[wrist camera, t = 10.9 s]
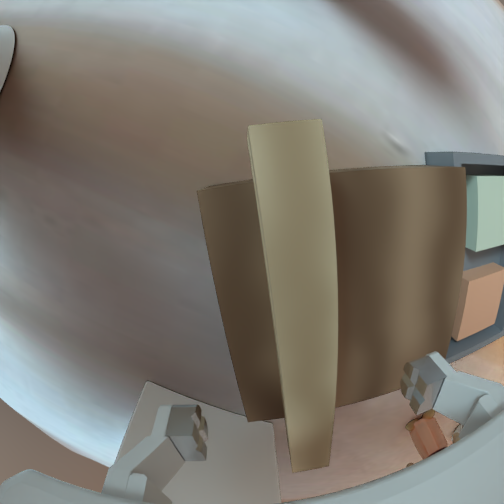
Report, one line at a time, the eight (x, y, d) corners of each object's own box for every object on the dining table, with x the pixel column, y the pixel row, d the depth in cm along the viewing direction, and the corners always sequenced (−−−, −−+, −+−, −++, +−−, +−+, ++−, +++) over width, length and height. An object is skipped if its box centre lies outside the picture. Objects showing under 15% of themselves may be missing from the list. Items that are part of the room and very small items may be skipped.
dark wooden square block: (247, 379, 22) (247, 422, 17) (209, 186, 18) (196, 191, 13) (414, 342, 22) (440, 373, 17) (423, 165, 17) (465, 167, 13)
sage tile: (511, 242, 16) (498, 236, 18) (513, 176, 15) (499, 174, 17) (476, 252, 17) (461, 245, 18) (477, 176, 15) (461, 174, 17)
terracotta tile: (494, 323, 19) (483, 315, 21) (506, 268, 17) (493, 262, 19) (456, 341, 19) (445, 331, 21) (469, 281, 17) (455, 273, 19)
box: (415, 349, 22) (432, 370, 19) (424, 152, 17) (452, 151, 14) (486, 321, 22) (504, 335, 19) (500, 156, 17) (525, 158, 14)
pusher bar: (286, 432, 18) (292, 472, 14) (247, 140, 12) (248, 125, 8) (318, 426, 18) (328, 466, 14) (299, 134, 12) (321, 119, 8)
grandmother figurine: (437, 398, 25) (482, 466, 13) (442, 409, 26) (482, 471, 14) (388, 434, 26) (421, 508, 14) (396, 441, 27) (427, 509, 15)
